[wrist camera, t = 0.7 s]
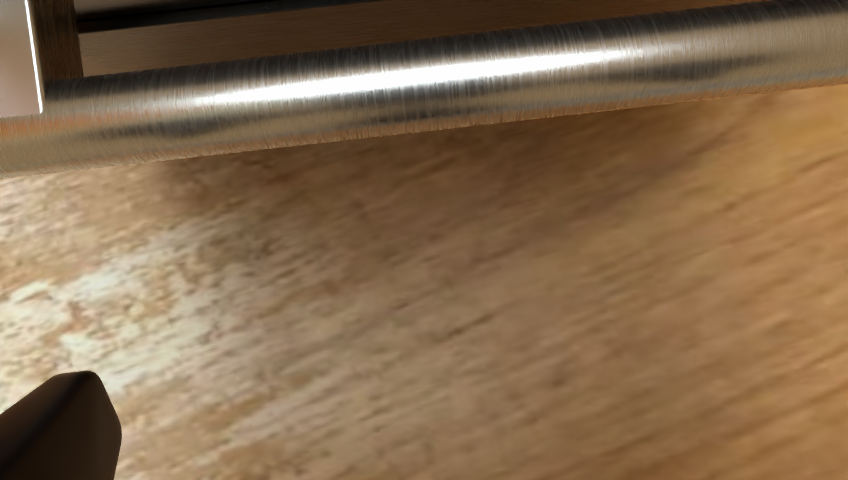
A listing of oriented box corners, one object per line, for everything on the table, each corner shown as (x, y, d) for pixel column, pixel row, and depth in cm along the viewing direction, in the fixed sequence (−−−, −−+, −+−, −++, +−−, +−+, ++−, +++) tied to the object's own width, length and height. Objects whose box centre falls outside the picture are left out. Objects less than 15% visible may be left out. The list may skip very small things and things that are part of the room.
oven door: (712, 144, 22) (1328, 7, 7) (160, 206, 22) (-380, 198, 7) (700, 14, 22) (1306, -405, 7) (143, 76, 21) (-448, -215, 7)
